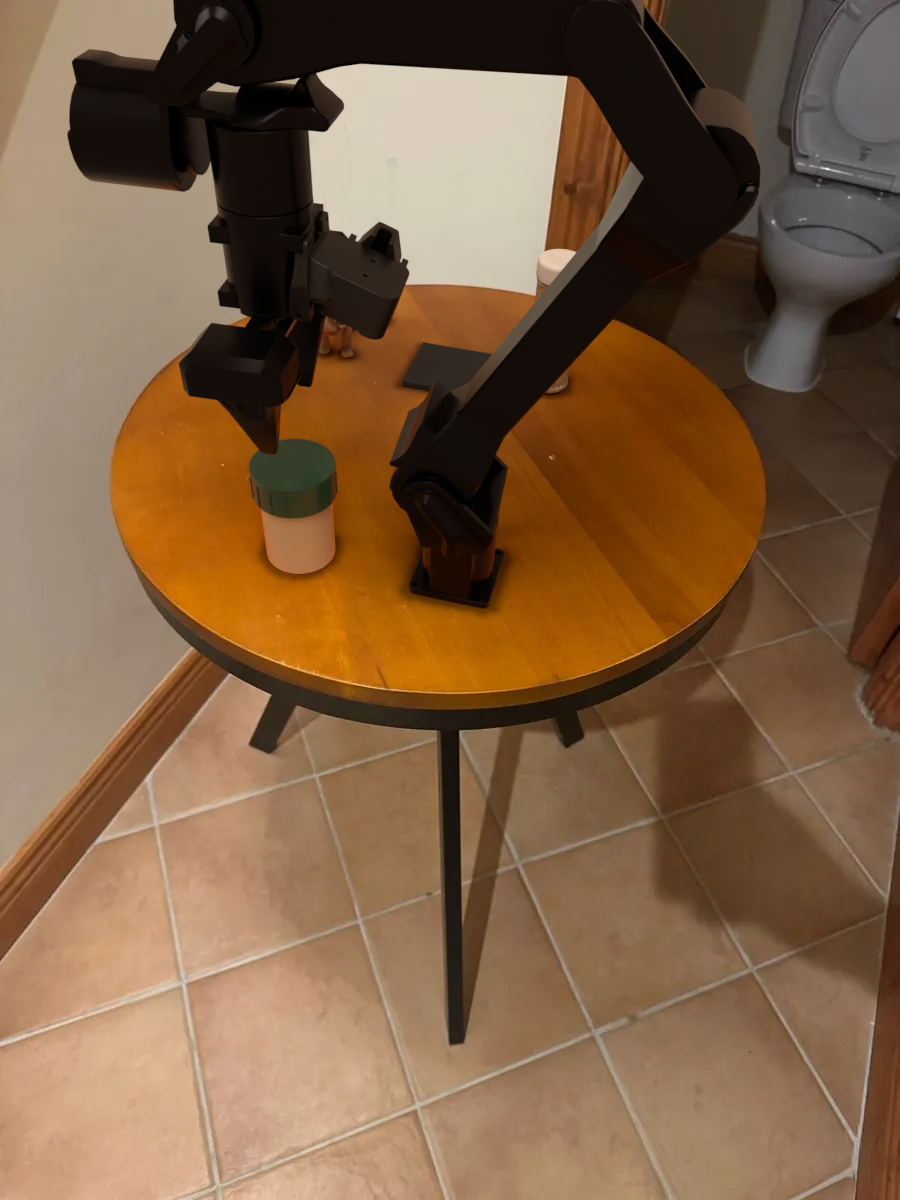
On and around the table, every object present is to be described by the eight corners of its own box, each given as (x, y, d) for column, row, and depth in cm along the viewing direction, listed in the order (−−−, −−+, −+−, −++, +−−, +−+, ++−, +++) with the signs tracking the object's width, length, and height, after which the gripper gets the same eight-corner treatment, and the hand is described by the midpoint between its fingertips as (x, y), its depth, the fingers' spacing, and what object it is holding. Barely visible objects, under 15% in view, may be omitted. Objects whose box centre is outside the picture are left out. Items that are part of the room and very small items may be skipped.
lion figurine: (349, 379, 92) (345, 297, 86) (300, 369, 93) (293, 287, 87) (397, 313, 102) (397, 234, 96) (353, 304, 103) (350, 226, 97)
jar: (322, 580, 72) (315, 498, 66) (256, 566, 73) (243, 484, 67) (344, 535, 76) (340, 454, 70) (282, 522, 77) (272, 441, 71)
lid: (320, 526, 67) (318, 498, 65) (239, 509, 68) (234, 481, 66) (348, 474, 72) (347, 446, 70) (271, 459, 73) (268, 431, 71)
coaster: (478, 399, 91) (478, 394, 90) (401, 386, 92) (401, 381, 92) (495, 359, 96) (495, 354, 96) (422, 346, 97) (422, 341, 97)
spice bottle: (546, 367, 96) (563, 242, 86) (576, 386, 93) (597, 260, 84) (514, 380, 94) (528, 254, 84) (544, 400, 91) (562, 273, 81)
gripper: (358, 286, 47) (366, 516, 58) (427, 155, 60) (422, 364, 71) (153, 261, 48) (199, 492, 59) (264, 137, 61) (285, 346, 72)
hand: (288, 417), depth 65 cm, fingers open, 8 cm apart
